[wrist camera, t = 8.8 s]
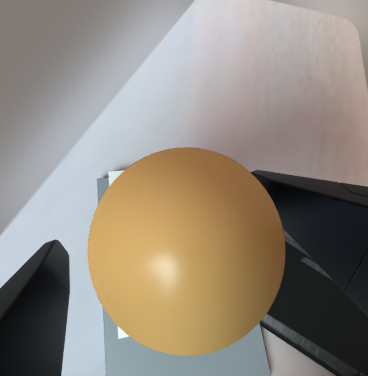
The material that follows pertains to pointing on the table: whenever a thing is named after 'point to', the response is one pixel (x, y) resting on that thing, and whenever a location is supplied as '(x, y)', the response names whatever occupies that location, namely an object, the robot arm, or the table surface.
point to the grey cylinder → (186, 251)
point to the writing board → (175, 364)
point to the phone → (318, 316)
